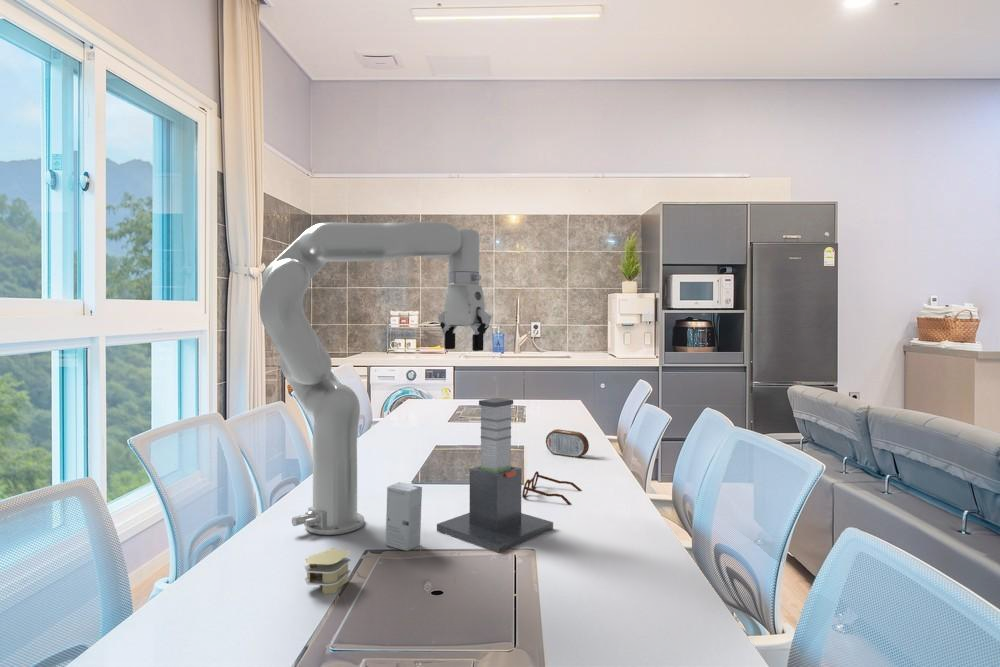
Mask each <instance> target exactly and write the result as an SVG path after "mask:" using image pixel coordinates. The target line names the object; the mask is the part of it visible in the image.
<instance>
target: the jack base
mask: <svg viewBox="0 0 1000 667" xmlns="http://www.w3.org/2000/svg"><path fill="white" fill-rule="evenodd" d="M480 466H481V465H479V466H475V467H472V468H469V512H468V513H465V514H461V515H459V516H456V517H453V518H451V519H447V520H445V521H441V522H439V523H436V531H437V532H438V533H442V534H444V535H447V536H449V537H453V538H456V539H459V540H461V541H465V542H467V543H471V544H473V545H476V546H479V547H481V548H484V549H487V550H490V551H493V552H495V551H496V552H495V553H498V552H500V553H501V551H502V552H504V551H506V550H508V549H511V548H513V547H516V546H517V545H520V544H522V543H525V542H526V541H530V540H532V539H533V538H536V537H538V536H540V535H543V534H545V533H547V532H549V531H550V532H551V530H554V522H553V521H550V520H546V519H544V518H540V517H536V516H533V515H530V514H525V513H523V512H522V479H523V478H522V475H523V473H522V472H523V471H522V468H521V467H517V466H514V465H513V466H512V465H511V470H508V471H504V472H501V473H498V474H496V473H492V472H488V471H484V470H480Z"/></svg>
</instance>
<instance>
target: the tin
mask: <svg viewBox="0 0 1000 667" xmlns="http://www.w3.org/2000/svg"><path fill="white" fill-rule="evenodd" d="M545 445H546V449H547V450H548V451H549V452H550V453H551V454H553V455H557V456H561V457H568V458H574V457H575V458H576V459H577V458H581V457H584V456H585V455H586V454H587V453H588V451H589V448H590V443H589V440H588V438H587V436H586V435H584V433H582V432H579V431H574V430H565V429H557V428H556V429H554V430H552V431H550V432H549V433H548V434H547V435H546V438H545Z"/></svg>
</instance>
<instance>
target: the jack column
mask: <svg viewBox="0 0 1000 667" xmlns="http://www.w3.org/2000/svg"><path fill="white" fill-rule="evenodd" d="M478 405H479V406H480V465H479V466H480V470H484V471H488V472H492V473H496V474H498V473H501V472H504V471H508V470H511V466H512V465H511V463H512V462H511V459H512V458H511V457H512V455H511V453H512V452H511V451H512V450H511V449H512V443H511V442H512V405H514V399H509V398H502V397H493V398H488V399H480V400H478Z"/></svg>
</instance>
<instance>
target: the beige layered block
mask: <svg viewBox="0 0 1000 667" xmlns="http://www.w3.org/2000/svg"><path fill="white" fill-rule="evenodd" d="M350 553H351V551H349V550H343V549H339V548H330V549H327V550H325V551H322V552H319V553H316V554H313V555H311V556H308V557H307V558H305V559H304V560H305V561H304V562H305V563H306V564H307V565H305V566H304V570H305V571H306V573H307V577H306V578H305V577H304V580H305V582H304V583H305V584H307V585H310V586H319V587H321V592H322V593H323V594H325V595H330V594H331V595H332V594H335V593H337V592H338V589H339V588H340V587H341V586H343V585H344V584H345V585H346V583H348V582H349V574H351V572H352V571H351V569H349V563H350V562H351V561H352V560H351V558H347V557H346V556H348V555H349V554H350Z"/></svg>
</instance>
